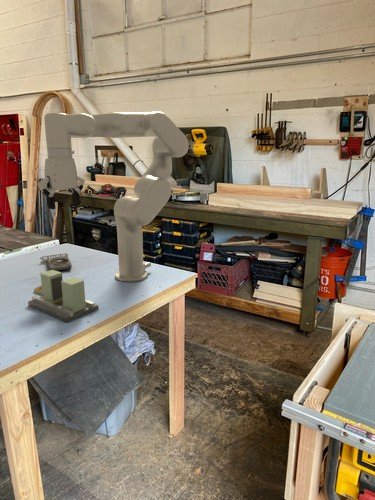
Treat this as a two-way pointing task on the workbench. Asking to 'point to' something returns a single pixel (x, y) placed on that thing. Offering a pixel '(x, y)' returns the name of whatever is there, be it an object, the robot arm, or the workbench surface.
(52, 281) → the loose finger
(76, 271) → the workbench surface
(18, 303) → the workbench surface
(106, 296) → the workbench surface
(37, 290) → the shard
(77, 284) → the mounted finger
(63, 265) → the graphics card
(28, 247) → the workbench surface
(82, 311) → the dark grey tray
